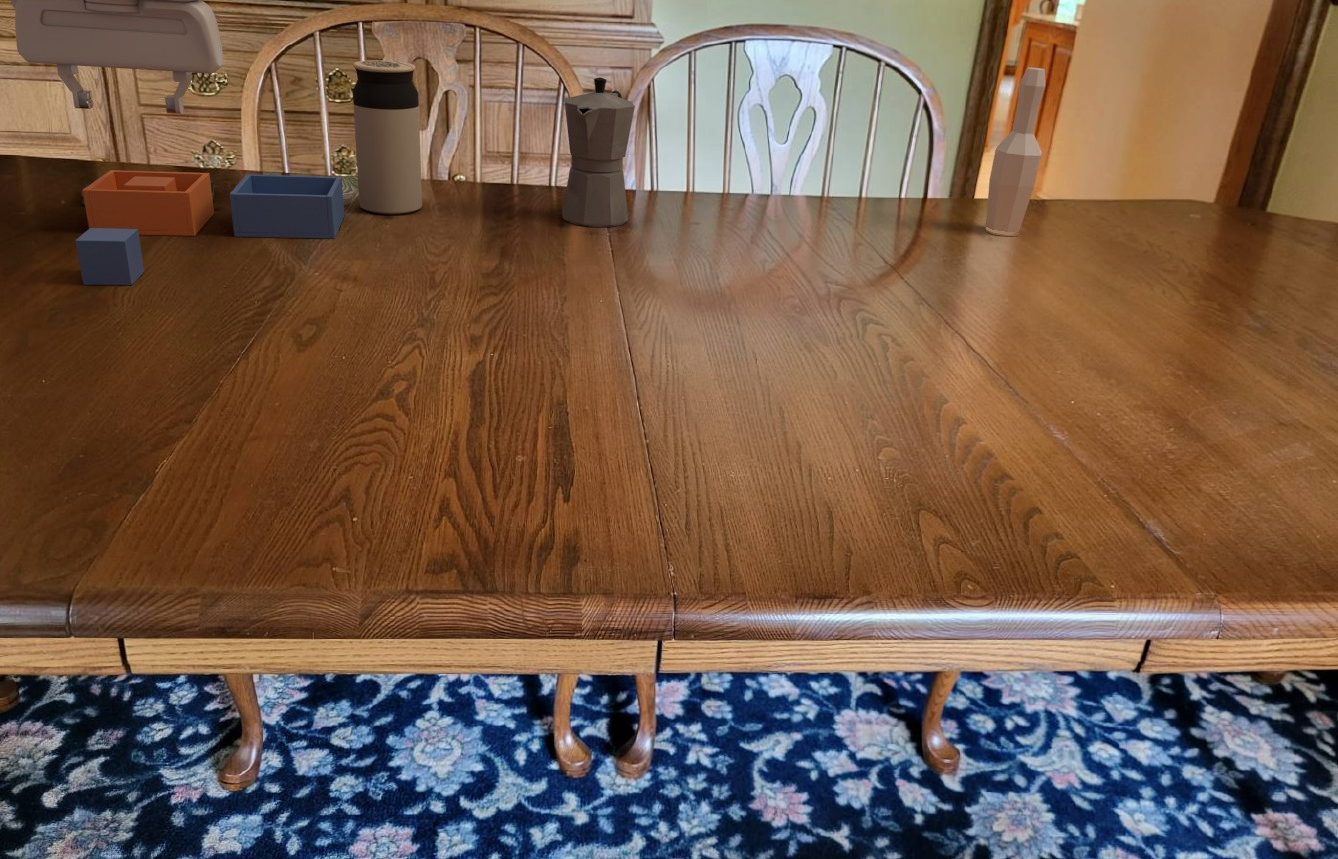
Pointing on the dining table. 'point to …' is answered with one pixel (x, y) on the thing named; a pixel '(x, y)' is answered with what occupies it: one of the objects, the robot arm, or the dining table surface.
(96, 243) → the blue block
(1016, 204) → the low poly bottle
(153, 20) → the robot arm
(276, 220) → the blue bin
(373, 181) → the travel mug
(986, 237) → the dining table surface
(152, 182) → the orange block
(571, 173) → the coffeepot
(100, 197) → the orange bin
